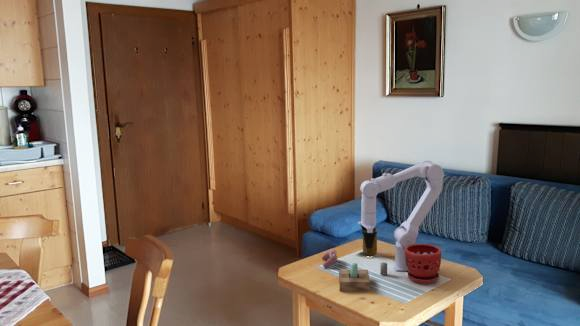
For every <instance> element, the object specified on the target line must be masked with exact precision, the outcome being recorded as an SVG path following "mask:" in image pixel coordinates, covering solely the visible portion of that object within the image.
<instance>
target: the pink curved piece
mask: <svg viewBox="0 0 580 326" xmlns="http://www.w3.org/2000/svg"><path fill="white" fill-rule="evenodd" d="M321 259H322V260H323V261H325V262H324V263H323V265H322V266H323V268H325V269H327V268H328V269H329V268H330V267H331V265H332V266H333V265H334V264H335V263H336V262H338V255H337V250H336V249H332V248H330V249H329V250H327V252H326V253H324V254H323V255H322V257H321Z"/></svg>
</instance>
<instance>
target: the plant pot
mask: <svg viewBox="0 0 580 326" xmlns="http://www.w3.org/2000/svg"><path fill="white" fill-rule="evenodd" d="M418 251H419V252H420V253H419V254H417V252H418ZM412 252H413V253H412ZM409 259H410V261H409ZM405 260H406V265H407V268H408V270H409V271H407V277H408V278H409V279H410V281H413V282H414V283H417V284H418V283H419V284H433V283H435V282H437V281H438V280H439V279H440V273H439V270H440V268H441V262H442V249H441V248H440V247H438V246H436V245H432V244H427V243H415V245H410V246H407V247H406V248H405Z"/></svg>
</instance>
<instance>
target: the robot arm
mask: <svg viewBox="0 0 580 326" xmlns="http://www.w3.org/2000/svg"><path fill="white" fill-rule="evenodd" d="M415 177H419V178H422V179H424V181H425V185H426V189H425V190H424V192H423V194H422V195H421V197H420V198H419V200H418V201H417V203H416V204H415V206H414V208H413V210H412V212H411V213H410V214H409V216H408V218H407V219H406V220H405V221H403V222H402V223H401V224H400V226H398V227H397V228H396V229H395V230H394V231H393V237H394V239H395V240H396V242H395V244H394V245H395V247H394V248H395V250H394V252H395V253H394V255H395V256H394V260H395V261H394V262H392V265H393V267H394V269H395V271H396V272H403V271H404V272H409V270H408V268H407V265H406V260H405V248H406V247H407V246H410V245H415V244H417V243H416V242H417V238H418V236H419V228H420V226H421V225H422V223H423V221H424V220H425V218H426V217H427V215H428V214H429V212H430V211H431V209H432V207H433V205H434V204H435V202H436V200H437V199H438V197H439V195H441V193H442V191H443V185H444V177H445V173H444V170H443V168H442V167H441V165H439V164H436V163H434V162H433V161H430V160H424V161H422V162H418V163H416V164H414V165H413V166H410V167H408V168H406V169H403V170H402V171H399V172H396V173H395V174H391V173H384V172H383V173H382V175H381V176H378V177H376V178H373V177H372V178H371V179H370V180H369V179H368V180H365V181H363V182H362V183H361V184H360V187H359V190H360V192H361V201H360V202H361V203H360V204H361V207H360V209H361V211H360V212H361V213H360V215H361V216H360V221H358V222H357V224H358V226H360V227H361V232H362V236H363V235H364V240H365V244H366V248H372V246H373V241H374V238H375V236H376V234H377V235H378V231H377V230H376V231H373V228H374V227H375V228H376V226H377V195H378V194H380V193H383V192H385V191H388V190H390V189H393V188H394V187H396V185H397V183H401V182H403V181H406V180H409V179H412V178H415ZM412 253H413V252H412ZM419 253H420V252H419V251H418V252H417V254H419ZM409 261H410V259H409Z"/></svg>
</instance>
